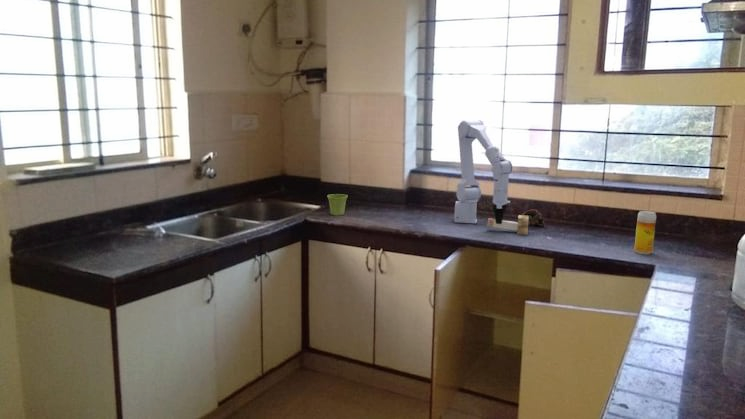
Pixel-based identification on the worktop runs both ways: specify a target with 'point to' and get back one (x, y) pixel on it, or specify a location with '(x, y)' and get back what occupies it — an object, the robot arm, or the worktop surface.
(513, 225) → the white bar
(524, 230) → the tan wooden brick
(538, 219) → the pottery mug
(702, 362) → the worktop surface
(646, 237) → the pill bottle
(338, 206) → the plant pot
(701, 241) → the worktop surface
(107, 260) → the worktop surface
